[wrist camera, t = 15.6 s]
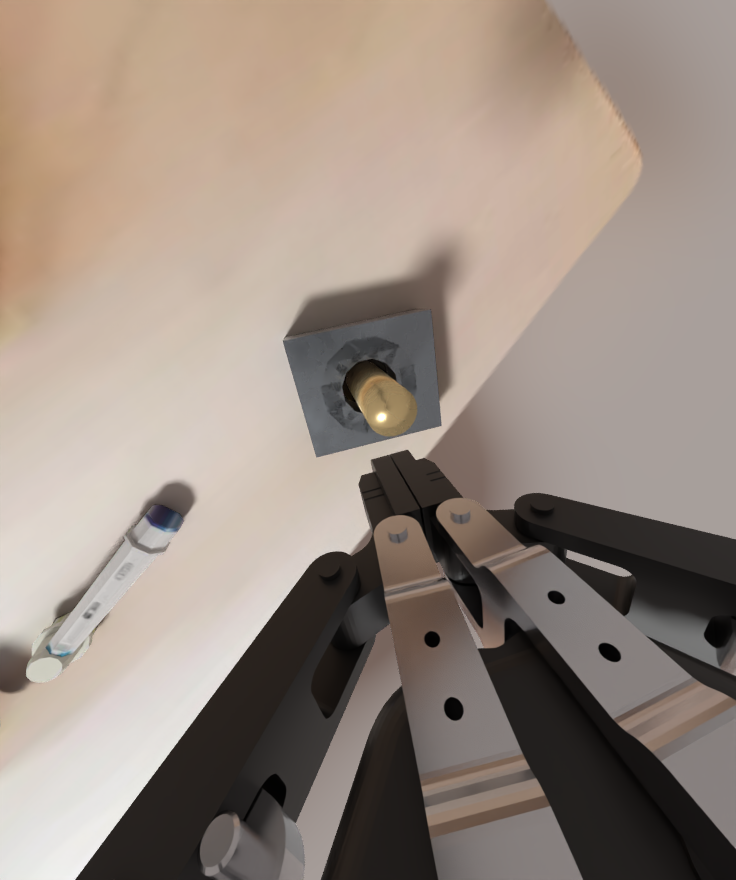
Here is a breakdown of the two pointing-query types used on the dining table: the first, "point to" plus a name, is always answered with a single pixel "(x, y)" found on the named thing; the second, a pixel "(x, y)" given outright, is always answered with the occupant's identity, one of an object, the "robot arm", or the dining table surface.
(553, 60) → the dining table surface
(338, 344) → the plate
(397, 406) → the brass plug
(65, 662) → the white electric toothbrush
